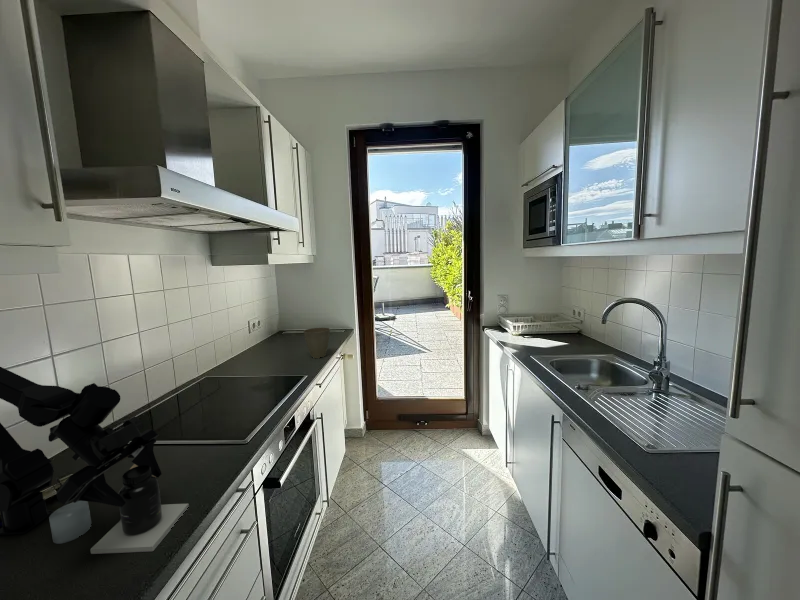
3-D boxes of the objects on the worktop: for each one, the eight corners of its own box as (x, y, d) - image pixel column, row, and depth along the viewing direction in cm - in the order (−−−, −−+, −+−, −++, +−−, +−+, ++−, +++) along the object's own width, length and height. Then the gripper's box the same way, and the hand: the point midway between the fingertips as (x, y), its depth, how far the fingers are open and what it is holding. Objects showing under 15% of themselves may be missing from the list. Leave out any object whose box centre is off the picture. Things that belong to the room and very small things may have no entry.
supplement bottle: (115, 539, 70) (107, 484, 68) (134, 515, 77) (127, 464, 75) (152, 533, 71) (145, 479, 70) (168, 510, 78) (162, 460, 76)
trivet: (91, 553, 68) (90, 549, 68) (136, 509, 80) (135, 505, 80) (153, 551, 68) (152, 546, 68) (189, 507, 80) (188, 503, 80)
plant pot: (334, 353, 208) (332, 327, 207) (327, 360, 194) (326, 332, 192) (309, 353, 209) (307, 327, 207) (301, 360, 194) (299, 332, 192)
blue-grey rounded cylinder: (44, 544, 71) (40, 521, 70) (71, 522, 77) (68, 501, 76) (74, 543, 71) (70, 520, 70) (99, 521, 77) (95, 500, 76)
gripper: (61, 436, 62) (126, 495, 62) (146, 395, 80) (195, 440, 81) (28, 476, 64) (91, 533, 64) (119, 426, 82) (167, 471, 82)
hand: (143, 489), depth 73 cm, fingers open, 9 cm apart
